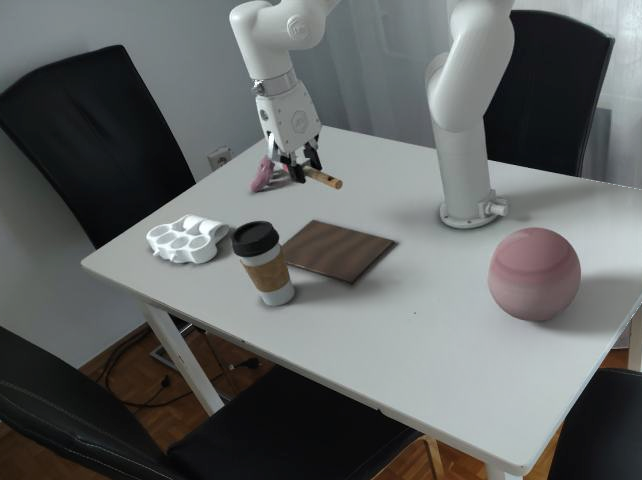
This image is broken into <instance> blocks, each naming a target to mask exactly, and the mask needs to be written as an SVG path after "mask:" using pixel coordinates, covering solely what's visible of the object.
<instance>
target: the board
mask: <svg viewBox="0 0 642 480" xmlns="http://www.w3.org/2000/svg"><path fill="white" fill-rule="evenodd" d="M394 245H395V241H394V240H393V239H389V238H385V237H382V236H378V235H374V234H370V233H366V232H363V231H359V230H354V229H352V228H351V229H350V228H346V227H342V226H339V225H335V224H330V223H328V222H324V221H319V220H315V219H312V220H310V222H308V223H307V224H305V226H304V227H302V228H301V229H300V230H299V231H297V233H295V234H294V235H293V236H292V237H291V238H289V239H288V240H287V241H286V242H285V243H284V244H282V245H281V247H282V250H283V254H284V258H285V261H286V265H287V266H290V267H293V268H296V269H300V270H303V271H306V272H309V273H313V274H315V275H319V276H322V277H326V278H329V279H333V280H335V281H338V282H341V283H345V284H348V285H351V286H352V285H354V284H355V283H356V282H357V281H358V280H359V279H360V278H361V277H362V276H363V275H364V274H365V273H366V272H367V271H368V270H369V269H370V268H371V267H372V266H373V265H374V264H375V263H377V261H378V260H380V259H381V257H382V256H383V255H384V254H385V253H386V252H387V251H389V249H390V248H392V246H394Z"/></svg>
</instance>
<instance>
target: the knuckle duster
mask: <svg viewBox="0 0 642 480" xmlns="http://www.w3.org/2000/svg"><path fill="white" fill-rule="evenodd" d="M229 230H230V225H229V224H228V223H227V222H222V221H218V220H214V219H211V218H206V217H202V216H198V215H196V214H185V215H183V216H182V217H181V218H179V219H177V220H176V221H174V222H171V223H163V224H160V225H157V226H155V227H153V228H152V229H151V230H149V231H148V232H147V234H146V240H147V242H148V243H149V245H150V247H151V249H152V251H154V253H153V254H152V256H153V257H157V256H159V257H161V258H162V259H163V260H169V261H170V262H173V263H174V264H175V263H176V264H185V263H194V264H196V265H199V264H200V265H201V264H204V263H206V262H209V261H210V260H212V259H213V258H214V257H215V256H216V255H217V253H218V248H217V246H216V244H217V243H218V242H220V241H221V240H223V238H224V237H225V236H226V235H227V234H228V233H229Z"/></svg>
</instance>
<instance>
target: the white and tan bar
mask: <svg viewBox="0 0 642 480" xmlns="http://www.w3.org/2000/svg"><path fill="white" fill-rule="evenodd" d="M278 155H280V153H278ZM287 156H288V158H289V155H288V154H287ZM296 160H297V163H298V164H300V165H301V168H302V170H303V173H304V176H305V178H306V177H307V178H310V179H312V180H315V181H316V182H319V183H320V184H321V183H322V184H324V185H326V186H328V187H330V188H333V189H335V190H341V189H342V188H343V184H344V183H343V180H341V179H340V178H336V177H335V176H332V175H331V174H327V173H325V172H323V171H322V170H321V171H319V170H316V169H314V168H312V167H311V165H310V158H305V156H298V155H296ZM272 162H273V163H275V166H277V167H279V168H280V169H282V170H283V171H285V172H286V173H287V174H289V171H288V169H287V166H286V165H285V164H283V163H280V162H275V161H272Z"/></svg>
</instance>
